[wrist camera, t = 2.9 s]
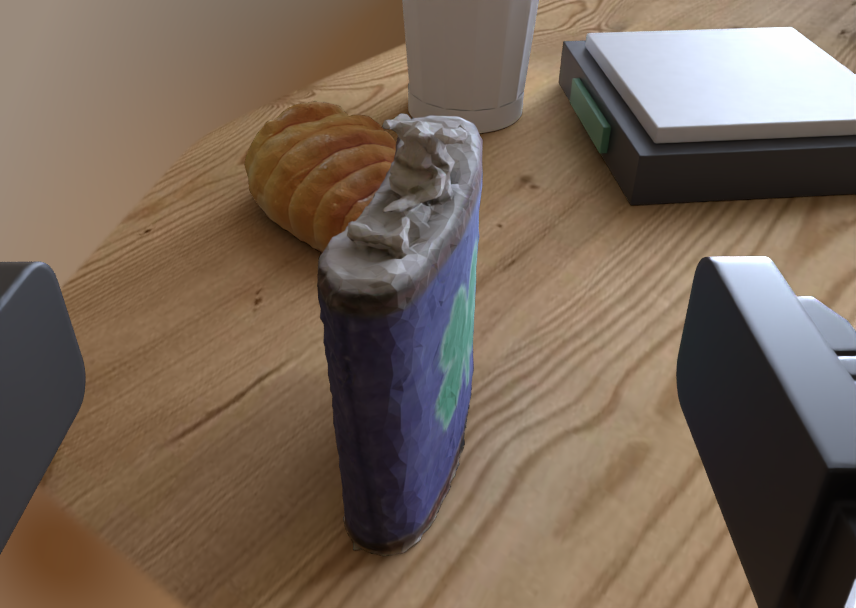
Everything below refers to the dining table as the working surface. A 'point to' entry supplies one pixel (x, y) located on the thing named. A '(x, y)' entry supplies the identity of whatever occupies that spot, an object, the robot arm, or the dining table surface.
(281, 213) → the pastry
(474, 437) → the dining table surface
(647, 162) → the scale
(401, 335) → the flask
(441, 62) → the cup
